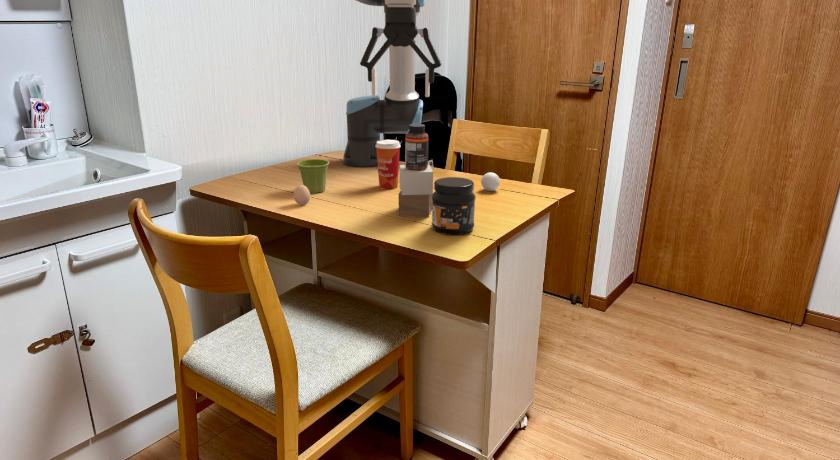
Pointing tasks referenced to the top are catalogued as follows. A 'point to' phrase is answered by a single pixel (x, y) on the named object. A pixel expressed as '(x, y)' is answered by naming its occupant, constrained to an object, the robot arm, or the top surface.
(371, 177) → the top surface
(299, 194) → the egg
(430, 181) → the top block
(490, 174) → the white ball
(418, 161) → the supplement bottle
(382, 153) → the paper cup
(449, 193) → the supplement container
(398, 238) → the top surface
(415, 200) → the bottom block
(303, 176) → the plant pot
